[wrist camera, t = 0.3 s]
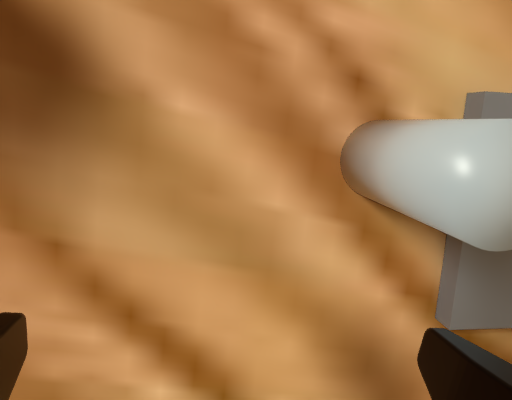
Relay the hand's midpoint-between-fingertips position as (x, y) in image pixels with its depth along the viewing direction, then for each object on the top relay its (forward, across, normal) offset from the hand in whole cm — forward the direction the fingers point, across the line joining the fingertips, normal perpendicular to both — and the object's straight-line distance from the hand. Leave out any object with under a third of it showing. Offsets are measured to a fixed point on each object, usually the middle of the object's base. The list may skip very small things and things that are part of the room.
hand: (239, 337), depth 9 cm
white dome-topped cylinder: (+14, -9, -2) cm, 17 cm away
